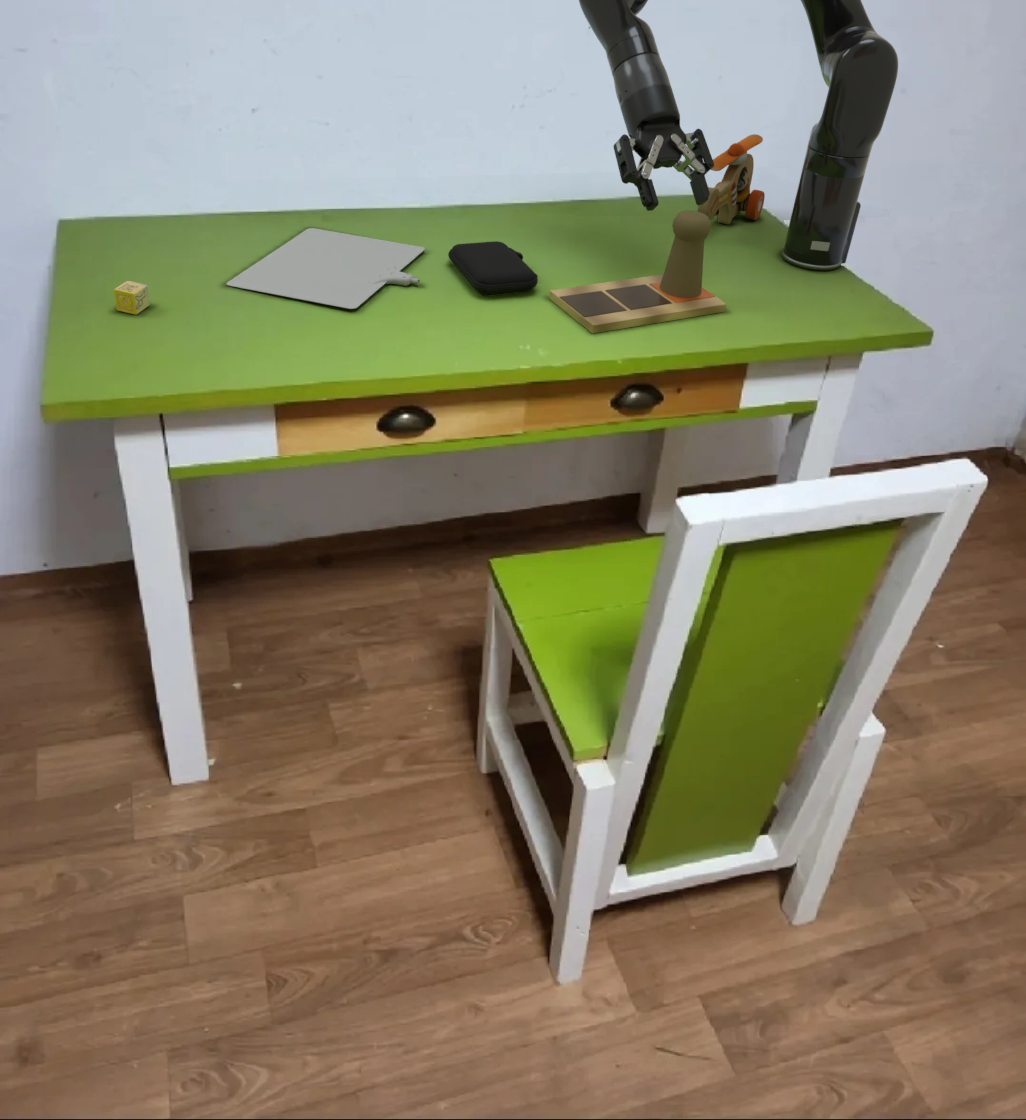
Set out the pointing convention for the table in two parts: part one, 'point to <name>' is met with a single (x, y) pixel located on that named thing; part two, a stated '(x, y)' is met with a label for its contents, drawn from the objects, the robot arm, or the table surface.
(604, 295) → the board
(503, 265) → the carrying case
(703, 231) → the olive brown pawn
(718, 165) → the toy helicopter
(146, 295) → the alphabet block
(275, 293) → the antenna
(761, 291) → the table surface
